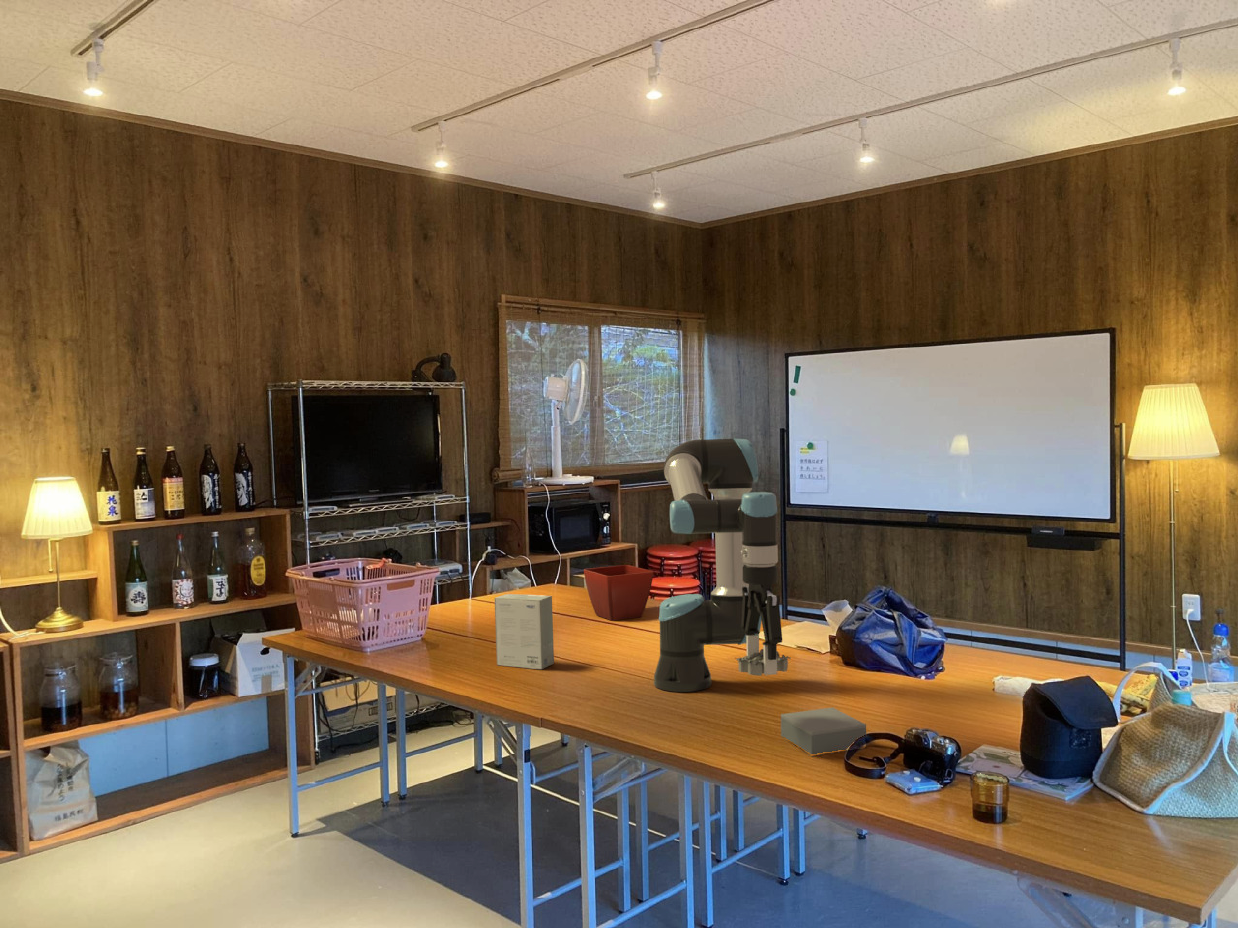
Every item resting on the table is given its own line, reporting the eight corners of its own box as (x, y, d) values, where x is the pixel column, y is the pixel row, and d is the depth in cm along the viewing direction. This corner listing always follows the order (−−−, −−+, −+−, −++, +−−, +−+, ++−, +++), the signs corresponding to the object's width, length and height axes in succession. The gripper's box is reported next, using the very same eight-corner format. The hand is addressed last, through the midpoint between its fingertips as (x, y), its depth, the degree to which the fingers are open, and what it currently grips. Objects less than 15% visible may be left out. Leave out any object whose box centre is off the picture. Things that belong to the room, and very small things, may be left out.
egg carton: (773, 663, 208) (773, 645, 208) (794, 671, 201) (793, 652, 201) (732, 669, 203) (732, 650, 203) (752, 677, 196) (752, 658, 196)
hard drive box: (555, 663, 272) (553, 595, 271) (542, 670, 265) (540, 600, 264) (509, 659, 278) (507, 592, 277) (495, 665, 271) (493, 597, 270)
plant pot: (655, 617, 334) (654, 570, 333) (609, 624, 324) (608, 576, 324) (628, 609, 351) (627, 564, 350) (583, 615, 341) (582, 569, 340)
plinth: (781, 736, 204) (780, 714, 204) (833, 729, 209) (832, 707, 208) (811, 756, 192) (811, 732, 192) (866, 748, 196) (866, 724, 196)
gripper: (724, 559, 210) (726, 660, 211) (765, 572, 190) (767, 683, 191) (755, 557, 212) (756, 657, 213) (798, 569, 192) (800, 679, 193)
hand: (761, 669), depth 202 cm, fingers closed on egg carton, 8 cm apart
